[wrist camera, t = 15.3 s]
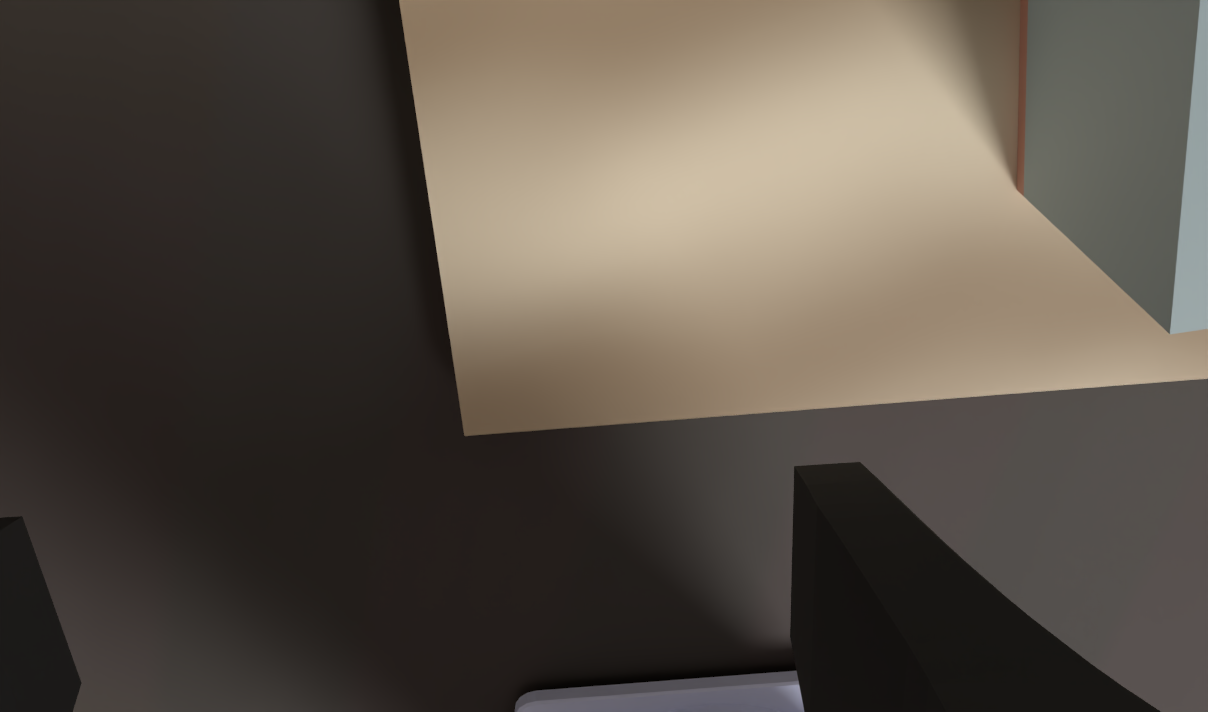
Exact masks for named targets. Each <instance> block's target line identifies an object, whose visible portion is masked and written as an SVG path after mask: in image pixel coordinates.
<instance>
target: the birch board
mask: <svg viewBox="0 0 1208 712" xmlns="http://www.w3.org/2000/svg"><path fill="white" fill-rule="evenodd" d="M399 3H400V10H401V16H402V23H403V30H404V36H405V43H406V50H407V56H408V63H409V70H410V76H411V83H412V90H413V96H414V103H415V110H416V116H417V123H418V130H419V136H420V143H421V150H422V156H423V163H424V170H425V176H426V183H427V190H428V196H429V203H430V210H431V216H432V223H433V230H434V236H435V243H436V250H437V256H438V263H439V270H440V276H441V283H442V290H443V296H444V303H445V310H446V317H447V323H448V330H449V337H450V343H451V350H452V357H453V363H454V370H455V377H456V383H457V390H458V397H459V403H460V410H461V417H462V423H463V430H464V436H471V435H484V434H497V433H510V432H523V431H536V430H549V429H562V428H575V427H588V426H601V425H613V424H626V423H639V422H652V421H665V420H678V419H691V418H704V417H717V416H730V415H743V414H755V413H768V412H781V411H794V410H807V409H820V408H833V407H846V406H859V405H872V404H885V403H898V402H910V401H923V400H936V399H949V398H962V397H975V396H988V395H1001V394H1014V393H1027V392H1040V391H1052V390H1065V389H1078V388H1091V387H1104V386H1117V385H1130V384H1143V383H1156V382H1169V381H1182V380H1194V379H1207V378H1208V329H1203V330H1197V331H1190V332H1183V333H1176V334H1169V333H1168V332H1167V331H1166V330H1165V329H1164V328H1163V327H1162V326H1160V325H1159V324H1158V323H1157V322H1156V321H1155V320H1154V319H1153V318H1152V317H1151V316H1150V315H1149V314H1148V313H1147V312H1146V311H1145V310H1144V309H1142V308H1141V307H1140V306H1139V305H1138V304H1137V303H1136V302H1135V301H1134V300H1133V299H1132V298H1131V297H1130V296H1129V295H1128V294H1127V293H1125V292H1124V291H1123V290H1122V289H1121V288H1120V287H1119V286H1118V285H1117V284H1116V283H1115V282H1114V281H1113V280H1112V279H1111V278H1110V277H1108V276H1107V275H1106V274H1105V273H1104V272H1103V271H1102V270H1101V269H1100V268H1099V267H1098V266H1097V265H1096V264H1095V263H1094V262H1093V261H1091V260H1090V259H1089V258H1088V257H1087V256H1086V255H1085V254H1084V253H1083V252H1082V251H1081V250H1080V249H1079V248H1078V247H1077V246H1076V245H1075V244H1073V243H1072V242H1071V241H1070V240H1069V239H1068V238H1067V237H1066V236H1065V235H1064V234H1063V233H1062V232H1061V231H1060V230H1059V229H1058V228H1056V227H1055V226H1054V225H1053V224H1052V223H1051V222H1050V221H1049V220H1048V219H1047V218H1046V217H1045V216H1044V215H1043V214H1042V213H1041V212H1039V211H1038V210H1037V209H1036V208H1035V207H1034V206H1033V205H1032V204H1031V203H1030V202H1029V201H1028V200H1027V199H1026V198H1025V197H1024V196H1022V195H1021V194H1020V193H1019V192H1018V191H1017V149H1018V97H1019V45H1020V0H399Z"/></svg>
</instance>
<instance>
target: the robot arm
mask: <svg viewBox="0 0 1208 712" xmlns="http://www.w3.org/2000/svg"><path fill="white" fill-rule="evenodd" d="M790 638H791V643H792V649H793V654H794V660H795V665H796V670H797V671H786V672H773V673H760V674H747V675H734V676H720V677H707V678H694V679H681V680H668V681H655V682H642V683H629V684H616V685H602V686H589V687H576V688H563V689H550V690H537V691H532V692H528V693H526V694H524V695H523V696H521V697H520V698H519V699H518V701H517V702H516V705H515V712H1160V711H1159V710H1157V709H1156V708H1154V707H1153V706H1151V705H1150V704H1148V703H1147V702H1145V701H1144V700H1142V699H1141V698H1139V697H1138V696H1136V695H1135V694H1133V693H1132V692H1130V691H1129V690H1127V689H1126V688H1124V687H1123V686H1121V685H1120V684H1118V683H1117V682H1116V681H1114V680H1113V679H1111V678H1110V677H1109V676H1107V675H1106V674H1104V673H1103V672H1102V671H1100V670H1099V669H1097V668H1096V667H1095V666H1093V665H1092V664H1090V663H1089V662H1088V661H1086V660H1085V659H1084V658H1082V657H1081V656H1080V655H1079V654H1077V653H1076V652H1075V651H1073V650H1072V649H1071V648H1069V647H1068V646H1067V645H1066V644H1064V643H1063V642H1062V641H1060V640H1059V639H1058V638H1057V637H1055V636H1054V635H1053V634H1051V633H1050V632H1049V631H1047V630H1046V629H1045V628H1044V627H1042V626H1041V625H1040V624H1038V623H1037V622H1036V621H1035V620H1033V619H1032V618H1031V617H1029V616H1028V615H1027V614H1026V613H1025V612H1023V611H1022V610H1021V609H1020V608H1019V607H1017V606H1016V605H1015V604H1014V603H1012V602H1011V601H1010V600H1009V599H1008V598H1007V597H1005V596H1004V595H1003V594H1002V593H1001V592H1000V591H999V590H997V589H996V588H995V587H994V586H993V585H992V584H991V583H989V582H988V581H987V580H986V579H985V578H984V577H983V576H981V575H980V574H979V573H978V572H977V571H976V570H974V569H973V568H972V567H971V566H970V565H969V564H968V563H966V562H965V561H964V560H963V559H962V558H961V557H960V556H959V555H958V554H957V553H956V552H954V551H953V550H952V549H951V548H950V547H949V546H948V545H947V544H946V543H945V542H944V541H942V540H941V539H940V538H939V537H938V536H937V535H936V534H935V533H934V532H933V531H932V530H931V529H930V528H929V527H928V526H927V525H926V524H924V523H923V522H922V521H921V520H920V519H919V518H918V517H917V516H916V515H915V514H914V513H913V512H912V511H911V510H910V509H909V508H908V507H907V506H906V505H905V504H904V503H903V502H901V501H900V500H899V499H898V498H897V497H896V496H895V495H894V494H893V493H892V492H891V491H890V490H889V489H888V488H887V487H886V486H885V485H884V484H883V483H882V482H881V481H880V480H879V479H878V478H876V477H875V476H874V475H873V474H872V473H871V472H870V471H869V470H868V469H867V468H866V467H865V466H864V465H862V464H861V463H860V462H854V463H838V464H823V465H807V466H794V504H793V546H792V587H791V629H790ZM80 686H81V681H80V678H79V675H78V672H77V669H76V667H75V664H74V661H73V658H72V655H71V652H70V650H69V647H68V644H67V641H66V638H65V636H64V633H63V630H62V627H61V624H60V622H59V619H58V616H57V613H56V610H55V607H54V605H53V602H52V599H51V596H50V593H49V591H48V588H47V585H46V582H45V579H44V576H43V574H42V571H41V568H40V565H39V562H38V560H37V557H36V554H35V551H34V548H33V546H32V543H31V540H30V537H29V534H28V531H27V529H26V526H25V523H24V520H23V517H22V516H21V517H5V518H0V712H73V708H74V705H75V702H76V699H77V695H78V692H79V689H80Z"/></svg>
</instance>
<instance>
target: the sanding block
mask: <svg viewBox="0 0 1208 712" xmlns="http://www.w3.org/2000/svg"><path fill="white" fill-rule="evenodd" d="M1017 191H1018V192H1019V193H1020V194H1021V195H1022V196H1024V197H1025V198H1026V199H1027V200H1028V201H1029V202H1030V203H1031V204H1032V205H1033V206H1034V207H1035V208H1036V209H1037V210H1038V211H1039V212H1041V213H1042V214H1043V215H1044V216H1045V217H1046V218H1047V219H1048V220H1049V221H1050V222H1051V223H1052V224H1053V225H1054V226H1055V227H1056V228H1058V229H1059V230H1060V231H1061V232H1062V233H1063V234H1064V235H1065V236H1066V237H1067V238H1068V239H1069V240H1070V241H1071V242H1072V243H1073V244H1075V245H1076V246H1077V247H1078V248H1079V249H1080V250H1081V251H1082V252H1083V253H1084V254H1085V255H1086V256H1087V257H1088V258H1089V259H1090V260H1091V261H1093V262H1094V263H1095V264H1096V265H1097V266H1098V267H1099V268H1100V269H1101V270H1102V271H1103V272H1104V273H1105V274H1106V275H1107V276H1108V277H1110V278H1111V279H1112V280H1113V281H1114V282H1115V283H1116V284H1117V285H1118V286H1119V287H1120V288H1121V289H1122V290H1123V291H1124V292H1125V293H1127V294H1128V295H1129V296H1130V297H1131V298H1132V299H1133V300H1134V301H1135V302H1136V303H1137V304H1138V305H1139V306H1140V307H1141V308H1142V309H1144V310H1145V311H1146V312H1147V313H1148V314H1149V315H1150V316H1151V317H1152V318H1153V319H1154V320H1155V321H1156V322H1157V323H1158V324H1159V325H1160V326H1162V327H1163V328H1164V329H1165V330H1166V331H1167V332H1168V333H1169V334H1176V333H1183V332H1190V331H1197V330H1203V329H1208V0H1020V45H1019V97H1018V149H1017Z"/></svg>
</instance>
